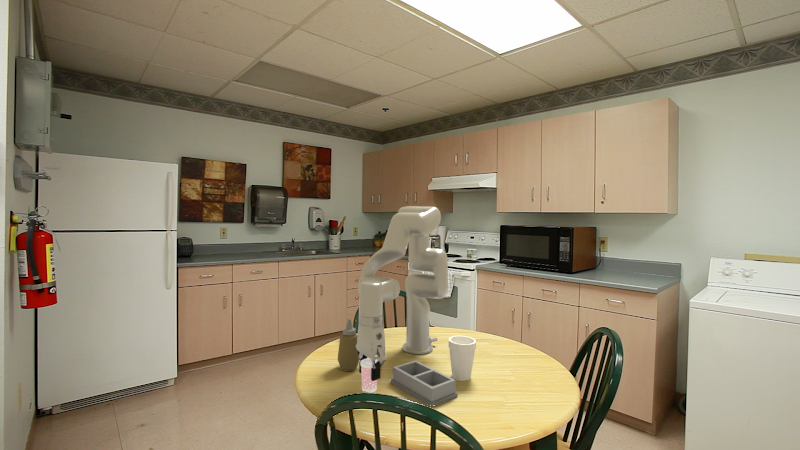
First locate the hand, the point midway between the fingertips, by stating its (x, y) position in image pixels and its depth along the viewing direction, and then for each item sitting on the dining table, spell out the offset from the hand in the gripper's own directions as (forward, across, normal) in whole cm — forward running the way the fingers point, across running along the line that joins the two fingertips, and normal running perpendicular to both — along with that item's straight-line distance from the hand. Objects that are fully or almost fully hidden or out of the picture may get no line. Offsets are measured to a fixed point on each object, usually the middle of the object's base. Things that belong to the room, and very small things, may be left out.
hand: (369, 375), depth 121 cm
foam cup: (+5, -11, -31) cm, 33 cm away
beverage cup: (+5, 0, 0) cm, 5 cm away
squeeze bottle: (+5, +18, -3) cm, 19 cm away
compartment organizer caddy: (+5, -10, -14) cm, 18 cm away
